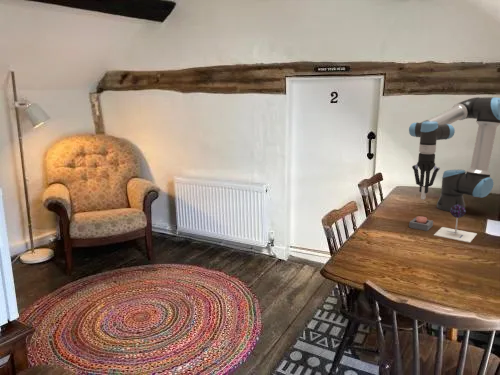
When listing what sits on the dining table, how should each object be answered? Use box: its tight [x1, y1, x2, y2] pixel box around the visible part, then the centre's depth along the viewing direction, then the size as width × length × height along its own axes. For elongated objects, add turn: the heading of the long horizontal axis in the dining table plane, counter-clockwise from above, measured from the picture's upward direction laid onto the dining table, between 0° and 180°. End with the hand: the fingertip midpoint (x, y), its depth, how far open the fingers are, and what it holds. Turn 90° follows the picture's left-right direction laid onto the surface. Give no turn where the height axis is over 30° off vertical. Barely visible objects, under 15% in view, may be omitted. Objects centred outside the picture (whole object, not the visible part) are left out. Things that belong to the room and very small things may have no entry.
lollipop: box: [449, 204, 467, 234], centre depth 194 cm, size 7×7×15 cm
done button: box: [415, 215, 428, 224], centre depth 207 cm, size 5×5×3 cm
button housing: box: [408, 217, 434, 232], centre depth 208 cm, size 9×9×3 cm
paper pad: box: [433, 226, 478, 243], centre depth 196 cm, size 14×16×1 cm
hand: (423, 198), depth 204 cm, fingers closed
